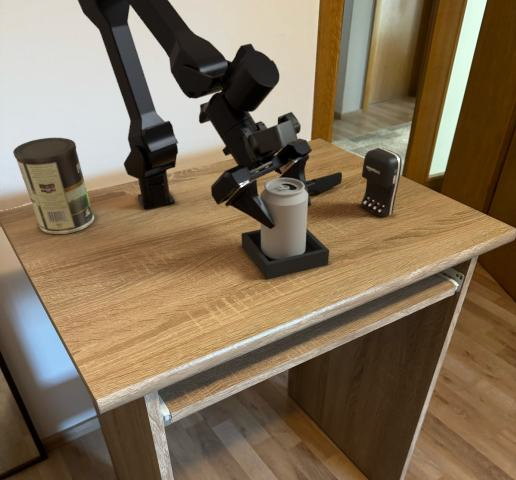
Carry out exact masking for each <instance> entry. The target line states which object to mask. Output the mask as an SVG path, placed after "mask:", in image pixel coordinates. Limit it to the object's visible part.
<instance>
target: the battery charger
mask: <svg viewBox="0 0 516 480" xmlns="http://www.w3.org/2000/svg"><path fill="white" fill-rule="evenodd" d="M402 162H403V161H402V157H401V156H400V154H398V153H396V152H395V151H392V150H390V149H387V148H385V147H376V148H374V149H370V150H368V151H367V152H366V153H365V155H364V160H363V164H362V170H361V177H362V178H364V179H365V180H366V184H365V191H364V195H363V198H362V200H361V203H360V206H361V207H362V208H363V209H364V210H366V211H368V212H370V214H371V213H372V214H373V215H375V216H377V217H387V216H391V215H392V214H393V213H394V208H395V202H396V197H397V191H398V187H399V184H400V183H399V182H400V179H401V178H400V176H401V171H402V164H403V163H402Z"/></svg>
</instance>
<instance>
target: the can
mask: <svg viewBox="0 0 516 480" xmlns="http://www.w3.org/2000/svg"><path fill="white" fill-rule="evenodd" d="M263 187H264V189H263V190H262V191H261V192H260V194H259V196H260V198H261V200H262V202H263V203H264V205H265V207H266V208H267V210H268V212H269V213H270V215H271V217H272V219H273V221H274V223H275V227H273V228H272V229H269V228H268V227H266V226H265V225H263V224H261V223H260V229H261V250H262V252H263V253H264V254H265V255H266V256H267V257H269V258H270V259H272V260H278V259H282V258H287V257H291V256H295V255H300V254H303V253H304V252H305V245H306V228H307V225H308V209H309V207H308V193H307V192H306V190H305V189H304V188H305V185H304V184H303V182H301V181H299V180H297V179H293V178H279V177H276V178H272V179H270V180H267V182H265V183H264V186H263Z"/></svg>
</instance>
